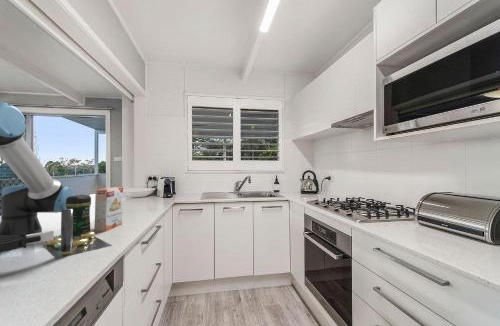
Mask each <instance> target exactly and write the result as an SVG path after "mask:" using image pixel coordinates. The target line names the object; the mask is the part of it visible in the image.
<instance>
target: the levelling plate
mask: <svg viewBox="0 0 500 326" xmlns="http://www.w3.org/2000/svg"><path fill="white" fill-rule="evenodd" d="M80 237H87V238H89V242H88V243H87V244H85V245H81V246H78V247H77V248H76V249H75V250H74V251H73V252H72V253H71V254H66V255H62V252H61V236H56V237H54V240H49V241H46V243H44V244H41V246H42V247H43V248H44V249H45V250H46V251H47V252H48V253H50V254H51V256H53V257H54V258H55V259H56V260H58V259H62V258H66V257H70V256H75V255H79V254H84V253H87V252H88V253H89V252H92V251H96V250H99V249H103V248H108V247H112V246H113V245H112V244H110V243H109V242H106V241H105V240H102V239H100V238H99V237H97V236H96V231H94V230H93V231H92V230H90V231H89V232H83V233H81V235H80ZM80 237H78V238H80Z"/></svg>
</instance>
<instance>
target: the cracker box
mask: <svg viewBox="0 0 500 326" xmlns="http://www.w3.org/2000/svg"><path fill="white" fill-rule="evenodd" d="M123 197H124V187H120V186H119V187H117V186H115V187H114V186H113V187H107V188H106V187H105V188H99V189H95V202H94V203H95V204H94V205H95V206H94V230H93V231H94V232H95V233H96V232H99V233H100V232H103V233H104V232H109V231H110V230H112V229H115V228H117V227H119V226H122V225H123V204H124V203H123V202H124V201H123V199H124V198H123Z"/></svg>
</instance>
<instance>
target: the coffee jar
mask: <svg viewBox="0 0 500 326" xmlns="http://www.w3.org/2000/svg"><path fill="white" fill-rule="evenodd" d="M91 205H92V197H91V196H90V195H89V194H76V195H75V194H74V196H70V197H68V198H67V199H66V208H67V209H73V237H78V236H80V237H81V233H83V232H89V231H91V214H90V212H91V211H90V209H91Z"/></svg>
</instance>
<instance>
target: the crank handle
mask: <svg viewBox="0 0 500 326" xmlns="http://www.w3.org/2000/svg"><path fill="white" fill-rule="evenodd" d="M60 213H61V215H60V218H61V219H60V237H61V252H62V255H66V254H71V253H72V252H73V251H74V250H75V249H76V248H77V247H78V246H81V245H85V244H87V243H88V242H89V238H87V237H81V236H80V238H79V237H75V238H74V236H73V209H63V210H61V212H60Z"/></svg>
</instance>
